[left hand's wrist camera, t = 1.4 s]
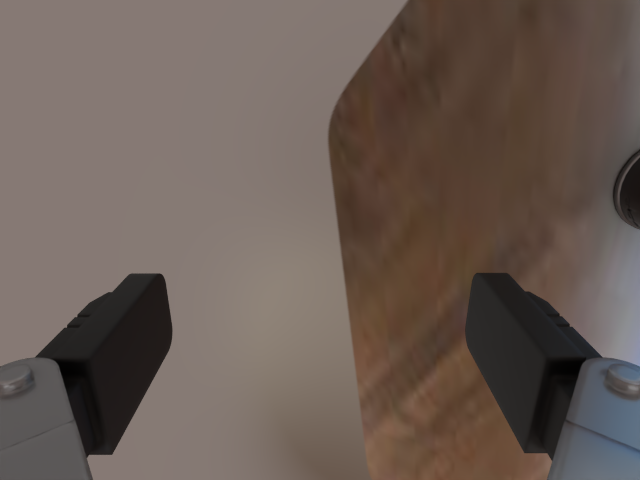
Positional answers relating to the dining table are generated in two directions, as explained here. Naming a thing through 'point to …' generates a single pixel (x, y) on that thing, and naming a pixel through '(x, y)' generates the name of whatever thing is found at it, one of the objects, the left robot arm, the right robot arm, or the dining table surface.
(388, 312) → the dining table surface
